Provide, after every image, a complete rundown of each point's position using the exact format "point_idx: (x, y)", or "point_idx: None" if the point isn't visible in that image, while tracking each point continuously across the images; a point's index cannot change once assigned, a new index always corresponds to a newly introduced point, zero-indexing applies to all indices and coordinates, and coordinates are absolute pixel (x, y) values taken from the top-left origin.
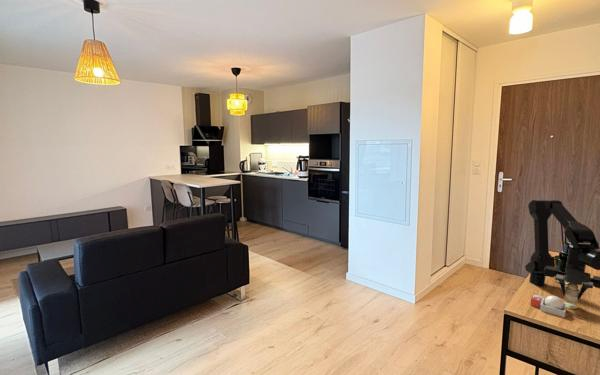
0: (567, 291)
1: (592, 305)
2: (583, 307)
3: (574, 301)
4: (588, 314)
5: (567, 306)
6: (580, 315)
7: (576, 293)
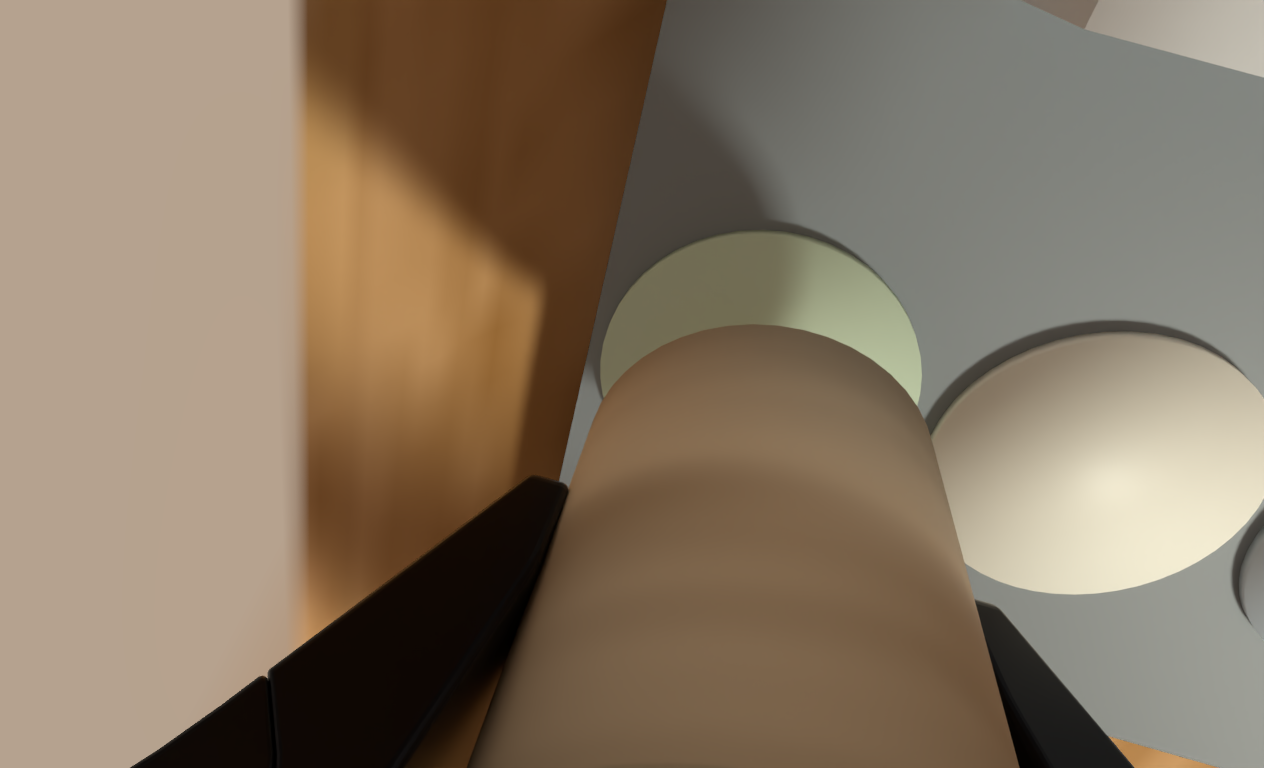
0: (996, 738)
1: (324, 624)
2: (465, 503)
3: (691, 362)
4: (408, 197)
5: (847, 298)
6: (596, 18)
7: (597, 635)
